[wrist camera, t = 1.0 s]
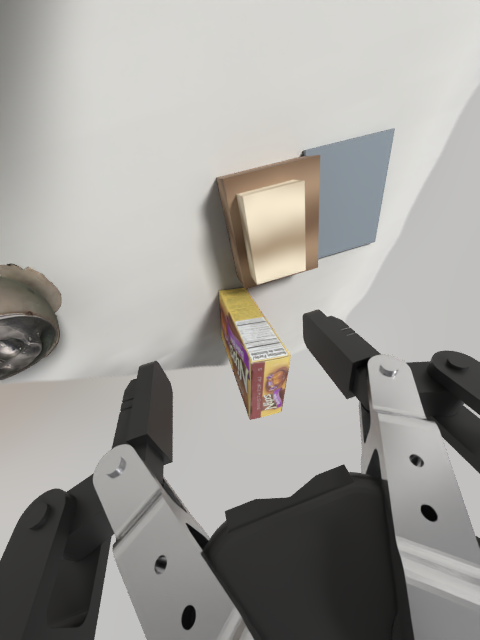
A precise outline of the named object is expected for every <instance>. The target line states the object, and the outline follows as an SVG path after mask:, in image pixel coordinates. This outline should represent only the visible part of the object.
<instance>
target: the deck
mask: <svg viewBox="0 0 480 640" xmlns="http://www.w3.org/2000/svg"><path fill="white" fill-rule="evenodd" d="M216 179H217V184H218V188H219V193H220V197H221V202H222V207H223V211H224V216H225V221H226V225H227V230H228V234H229V239H230V244H231V248H232V253H233V258H234V262H235V267H236V271H237V276H238V278H239V280H240V282H241V283H242V285H243V286H244V288H245V289H248V288H251V287H254V286H258V285H261V284H258V285H257V284H256V283H255V281H254V280H253V279H252V277H251V274H250V269H249V263H248V257H247V252H246V246H245V241H244V235H243V229H242V224H241V218H240V212H239V207H238V201H237V195H236V194H239V193H243V192H247V191H251V190H255V189H258V188H262V187H266V186H270V185H274V184H278V183H282V182H286V181H290V180H303V181H305V248H306V270H305V271H308V270H311V269H314V268H318V236H319V192H320V155H313V156H303V157H298V158H294V159H290V160H286V161H282V162H278V163H274V164H270V165H266V166H262V167H258V168H254V169H250V170H246V171H242V172H238V173H234V174H230V175H226V176H221V177H217V178H216ZM302 272H304V271H302ZM298 273H301V272H298ZM298 273H295V274H298ZM292 275H294V274H292ZM288 276H291V275H288ZM288 276H285V277H288ZM282 278H284V277H282ZM278 279H281V278H278ZM278 279H275V280H278ZM272 281H274V280H272ZM268 282H271V281H268ZM268 282H265V283H268ZM262 284H264V283H262Z"/></svg>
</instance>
